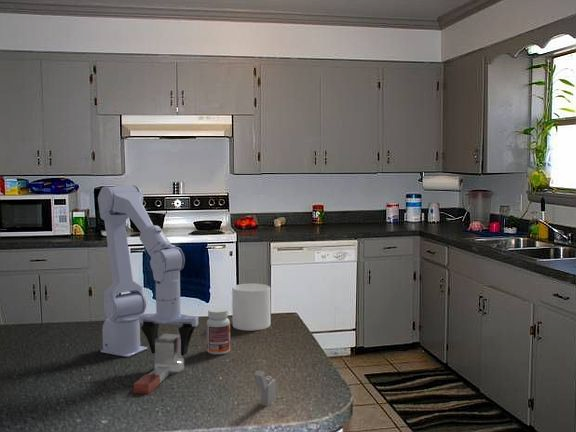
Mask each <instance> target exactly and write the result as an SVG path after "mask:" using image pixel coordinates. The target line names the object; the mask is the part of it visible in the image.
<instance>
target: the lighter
mask: <svg viewBox="0 0 576 432" xmlns="http://www.w3.org/2000/svg"><path fill="white" fill-rule="evenodd" d="M253 377H254V382H255V385H256V388H257V390H258V391H260V406H265V407H268V406H270V405H271V404H272V403H273V402H275V401H276V399H277V383H276V382H277V379H275V378H273V376H272V375H267V376H266V375H265V371H264V370H260V369H259V370H255V373H254V374H253Z"/></svg>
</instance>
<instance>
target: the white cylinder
mask: <svg viewBox="0 0 576 432" xmlns="http://www.w3.org/2000/svg"><path fill="white" fill-rule="evenodd" d="M231 291H232V292H231V294H232V295H231V297H232V298H231V299H232V301H231V302H232V303H231V304H232V305H231V306H232V307H231V309H232V327H233V328H234V329H236V330H240V331H249V332H250V331H253V332H254V331H261V330H265V329H268V328H270V326H271V315H272V314H271V286H270V285H268V284H264V283H242V284H241V283H240V284H236V285H233V286H232V288H231Z"/></svg>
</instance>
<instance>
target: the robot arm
mask: <svg viewBox="0 0 576 432" xmlns="http://www.w3.org/2000/svg"><path fill="white" fill-rule="evenodd" d="M141 190H142V189H141V188H140V187H139V186H138V185H135V184H134V185H126V186H125V185H124V186H122V185H121V186H107V185H105V186H102V187H101V189H100V191H99V193H98V196H97V203H98V210H99V217H100V219H101V220H103V221H104V228H105V234H106V242H107V250H108V255H109V256H108V257H109V263H110V270H111V271H110V273H111V279H112V284H110V285H109V287H108V288H107V289H106V290H105V291H104V293H103V294H104V295H103V297H104V300H103V311H104V314H105V317H107V318H106V319H105V320H104V322H103V325H102V329H101V330H102V349H101V350H100V353H103V354H109V355H115V356H119V357H124V358H128V357H132V356H134V355H136V354H139V353H141V352H143V351H146V350H148V347H147V346H143V345H141V331H142V332H143V334H144V336H145V338H146V340H147V342H148V344H149V348H150V351H151V352H150V353H151V355H153V354H154V355H155V339H156V338H157V337H159V335H158V334H159V326H160V325H177V326H180V327H179V328H178V332H179V333H178V334H180V339H181V356H182V357H183V356H185V355H187V354H188V349H189V344H190V341H191V339H192V335H193V333H194V331H195V330H196V327H197V326H198V325H199V316H194V315H188V314H182V313H181V271H182V270H183V269H184V267H185V262H186V257H185V253H184V252H183V250H182V248H180V247H178V246H176V245H175V244H172V243H171V242H170V240H169V238H167V236H166V234H165V233H164V231H163V230H162V228H161V227H160V226H159V225H155V224H153V222H152V220H151V218H150V215H149V214H148V212H147V210H146V208H145V206H144V204H143V203H144V194H143V192H142V191H141ZM127 219H130V220H131V221H132V222H133V224H134V225H135V227H136V228H137V229H138V230H139V232H140V234H139V240H140V242H141V244H142V245H143V247H144V248H145V250H146V252H147V253H148V254H149V256H150V260H149V263H150V264H149V265H150V269H151V271H152V276H153V281H155V309H156V313H145V311H146V309H147V300H146V296H145V294H144V291H143V287H142V285H140V284H139V283H137V282H135V281H134V280H133V279H134V278H133V272H132V265H131V264H132V263H131V259H130V251H129V244H128V243H129V242H128V237H127V236H128V235H127V229H126V222H127ZM141 324H143V325H142V326H141Z"/></svg>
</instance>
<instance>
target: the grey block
mask: <svg viewBox="0 0 576 432" xmlns="http://www.w3.org/2000/svg"><path fill="white" fill-rule="evenodd" d="M154 355H155V356H154V357H155V359H154V365H155V364H168V365H175V364H176V363H177V362H178V361H180V360H181V359H182V358H183V356H181V339H180V333H178V334H177V333H161V334H160V335H158V337H157V338H156V339H155V353H154Z"/></svg>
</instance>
